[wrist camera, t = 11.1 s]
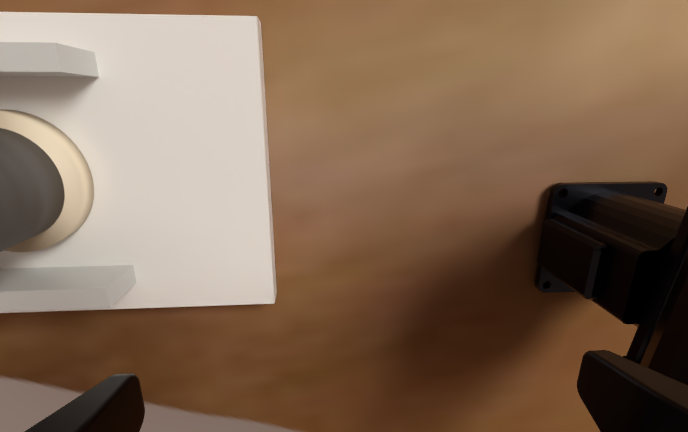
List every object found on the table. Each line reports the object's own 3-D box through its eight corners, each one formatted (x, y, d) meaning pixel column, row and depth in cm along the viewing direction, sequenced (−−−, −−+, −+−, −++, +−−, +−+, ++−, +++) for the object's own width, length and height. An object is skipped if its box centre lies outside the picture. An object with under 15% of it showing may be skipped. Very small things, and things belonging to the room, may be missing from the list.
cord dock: (260, 22, 17) (245, 0, 13) (276, 292, 21) (268, 330, 17) (-137, 15, 16) (-268, -10, 12) (-39, 303, 20) (-117, 346, 16)
